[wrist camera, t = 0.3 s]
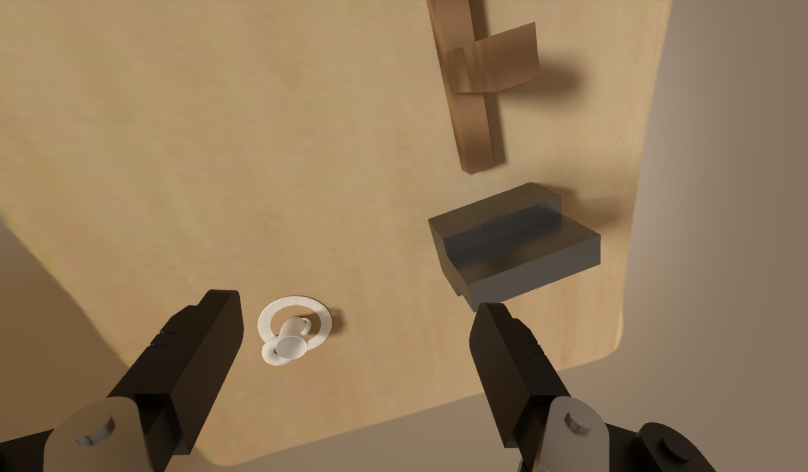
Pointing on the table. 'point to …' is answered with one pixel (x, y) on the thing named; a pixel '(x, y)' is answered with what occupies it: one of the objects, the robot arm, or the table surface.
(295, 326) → the teacup and saucer
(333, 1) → the table surface
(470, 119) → the wooden t-shaped block
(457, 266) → the gray metal t-shaped block
